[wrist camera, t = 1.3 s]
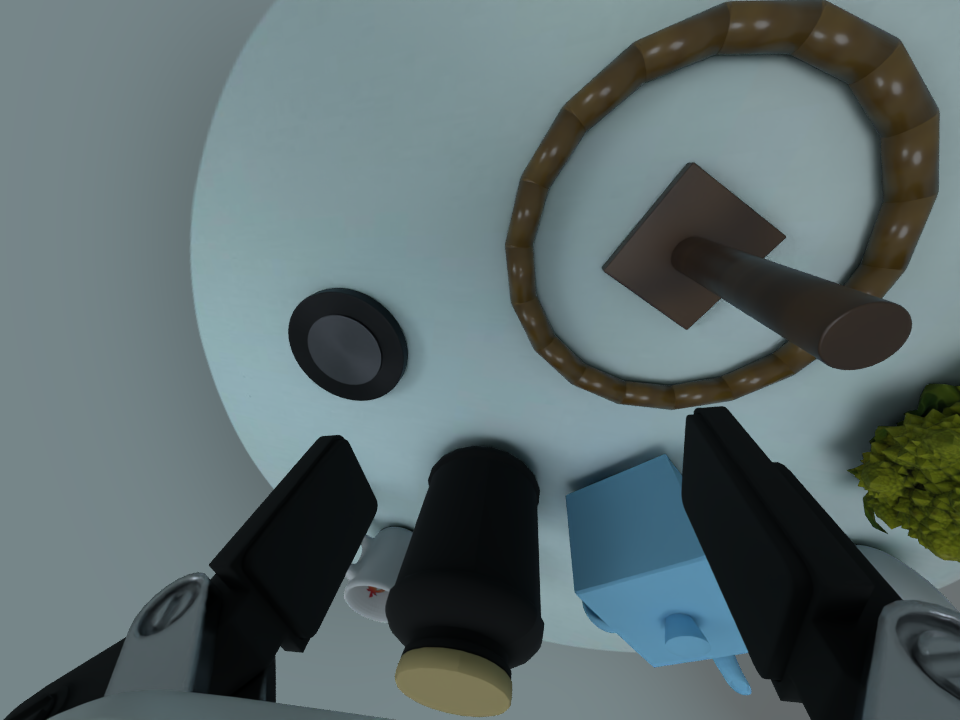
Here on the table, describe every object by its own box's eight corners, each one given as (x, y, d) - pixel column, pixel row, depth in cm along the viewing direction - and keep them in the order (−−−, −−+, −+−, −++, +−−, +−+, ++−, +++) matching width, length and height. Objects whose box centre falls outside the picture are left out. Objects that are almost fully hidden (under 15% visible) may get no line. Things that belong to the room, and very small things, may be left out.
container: (528, 524, 40) (522, 749, 24) (429, 500, 40) (360, 704, 25) (555, 448, 34) (570, 681, 18) (438, 422, 34) (356, 625, 19)
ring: (448, 298, 28) (442, 306, 26) (699, -122, 16) (719, -159, 14) (676, 445, 31) (684, 460, 30) (1022, 186, 20) (1069, 187, 18)
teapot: (544, 491, 37) (547, 629, 25) (687, 429, 30) (775, 575, 19) (629, 580, 42) (664, 728, 30) (768, 542, 35) (876, 711, 24)
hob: (283, 356, 34) (273, 363, 32) (316, 262, 28) (306, 266, 27) (380, 412, 35) (374, 420, 34) (428, 332, 30) (423, 339, 29)
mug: (868, 522, 32) (958, 614, 25) (916, 565, 34) (1013, 662, 27) (747, 568, 38) (795, 655, 31) (793, 604, 39) (848, 693, 32)
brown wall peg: (601, 268, 25) (670, 361, 12) (687, 162, 21) (923, 131, 8) (682, 325, 26) (826, 468, 13) (777, 234, 23) (1113, 308, 9)
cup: (345, 524, 45) (309, 587, 38) (374, 497, 42) (341, 561, 35) (409, 564, 47) (386, 631, 40) (442, 542, 44) (424, 611, 37)
